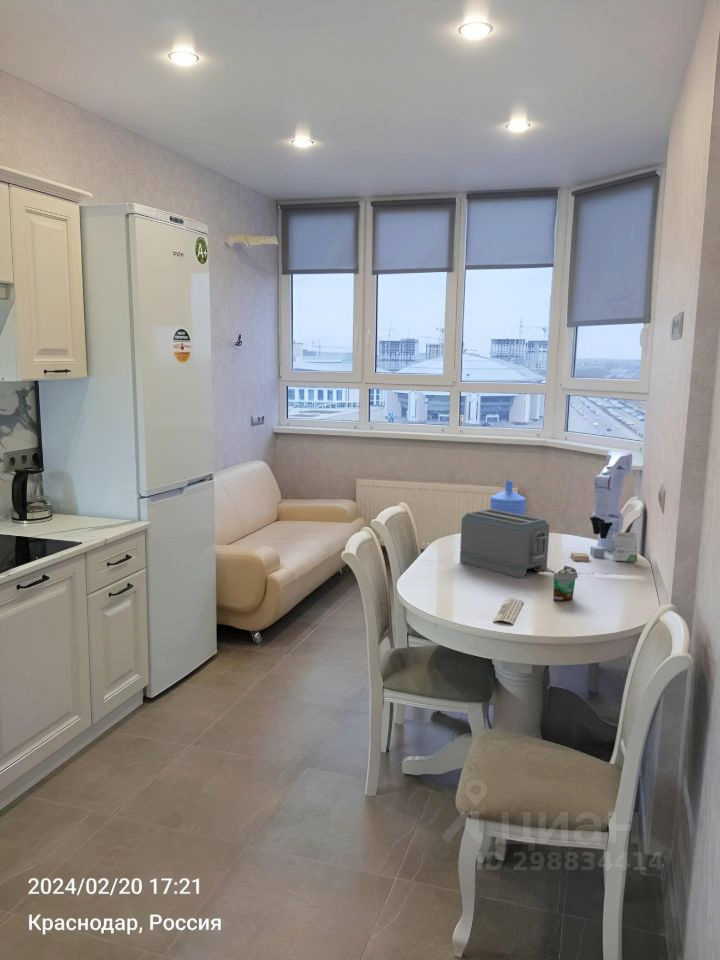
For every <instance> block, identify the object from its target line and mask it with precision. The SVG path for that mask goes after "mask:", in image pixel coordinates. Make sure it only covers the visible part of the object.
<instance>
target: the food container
mask: <svg viewBox="0 0 720 960" xmlns="http://www.w3.org/2000/svg"><path fill="white" fill-rule="evenodd" d="M576 579H578V572H577V569H576V568H574V567H571V566H567V565H563V569H561V570H559V571H558V572H554V573H553V598H552V599H553V602H557V603H559V602H561V603H563V602H564V603H565V602H571V601H573V598H574V589H575V585H576Z"/></svg>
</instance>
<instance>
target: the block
mask: <svg viewBox="0 0 720 960" xmlns="http://www.w3.org/2000/svg"><path fill="white" fill-rule="evenodd" d="M605 551H606V550H605V549H604V548H603V547H601V546H598V545H597V546H596V545H595V546H594V545H593V546H592V545H590V550H589V556H592V558H605Z"/></svg>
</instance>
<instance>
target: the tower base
mask: <svg viewBox="0 0 720 960" xmlns="http://www.w3.org/2000/svg"><path fill="white" fill-rule="evenodd" d="M568 559H570V560H573V559H572V557H571V556H568ZM573 561H574V562H576V563H577V562H579V561H576V560H573ZM588 562H592V560H590V559H589V561H588Z"/></svg>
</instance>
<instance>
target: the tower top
mask: <svg viewBox="0 0 720 960" xmlns="http://www.w3.org/2000/svg"><path fill="white" fill-rule="evenodd" d="M570 553H571V554H570V557H572V559H573V561H574V560H576V561H578V562H590V561H589V560H590V555H589V554H588V553H587V552H582V551H581V552H579V551H578V552H577V551H576V552H575V551H571V552H570ZM572 559H571V560H572ZM576 561H575V562H576Z"/></svg>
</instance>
